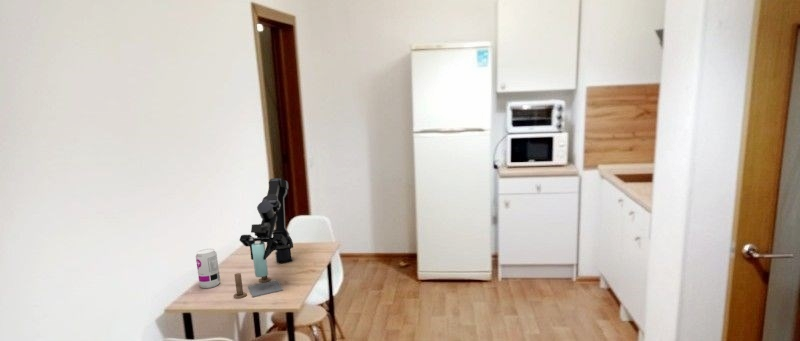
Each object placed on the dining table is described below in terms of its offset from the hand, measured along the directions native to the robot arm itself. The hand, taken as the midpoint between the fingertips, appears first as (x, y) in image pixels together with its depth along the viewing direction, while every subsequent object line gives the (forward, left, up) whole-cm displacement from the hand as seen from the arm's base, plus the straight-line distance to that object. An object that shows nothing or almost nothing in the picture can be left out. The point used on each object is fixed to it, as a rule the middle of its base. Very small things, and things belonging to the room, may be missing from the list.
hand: (258, 259), depth 184 cm
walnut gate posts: (+3, -5, -13) cm, 14 cm away
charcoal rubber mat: (-2, -1, -13) cm, 13 cm away
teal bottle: (-1, -1, -7) cm, 7 cm away
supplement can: (+18, -20, -13) cm, 30 cm away
